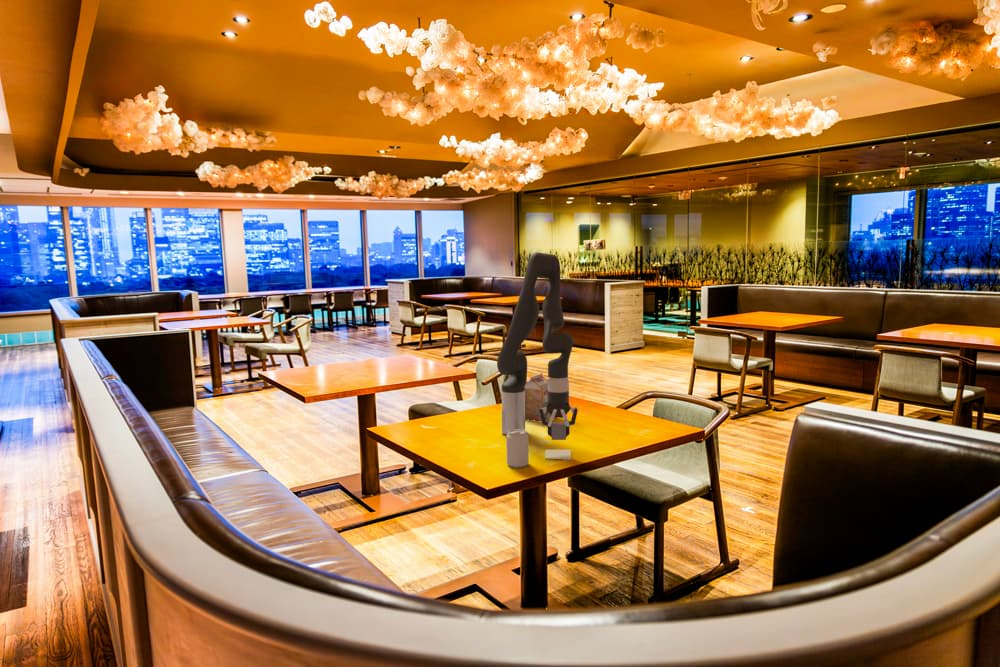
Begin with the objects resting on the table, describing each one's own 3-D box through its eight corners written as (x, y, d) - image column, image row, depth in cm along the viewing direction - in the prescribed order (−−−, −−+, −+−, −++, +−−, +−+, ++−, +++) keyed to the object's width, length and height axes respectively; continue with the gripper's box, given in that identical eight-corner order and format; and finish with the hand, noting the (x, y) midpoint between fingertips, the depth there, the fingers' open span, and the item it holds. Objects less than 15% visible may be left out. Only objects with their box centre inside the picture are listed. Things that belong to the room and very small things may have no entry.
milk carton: (541, 422, 275) (541, 378, 272) (520, 418, 280) (519, 376, 278) (553, 416, 284) (552, 374, 281) (532, 413, 289) (531, 371, 287)
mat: (545, 459, 226) (545, 457, 226) (545, 451, 235) (545, 449, 235) (571, 459, 225) (571, 457, 225) (570, 451, 234) (570, 449, 234)
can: (503, 467, 219) (503, 432, 217) (511, 460, 226) (510, 427, 224) (524, 469, 216) (524, 434, 215) (531, 462, 223) (531, 428, 222)
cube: (551, 439, 227) (551, 426, 226) (551, 435, 232) (551, 422, 231) (566, 439, 226) (565, 426, 226) (565, 435, 231) (565, 422, 231)
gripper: (537, 391, 224) (538, 439, 226) (579, 391, 223) (579, 439, 225) (537, 387, 231) (538, 433, 233) (578, 386, 230) (578, 433, 232)
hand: (558, 436), depth 229 cm, fingers closed on cube, 5 cm apart
